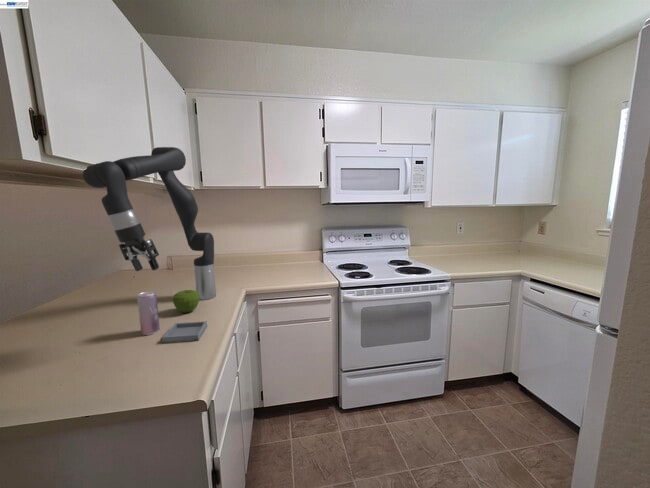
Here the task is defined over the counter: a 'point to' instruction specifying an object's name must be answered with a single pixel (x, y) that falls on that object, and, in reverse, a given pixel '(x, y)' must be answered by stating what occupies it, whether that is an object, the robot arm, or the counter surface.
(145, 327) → the beverage can
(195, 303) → the apple
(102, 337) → the counter surface
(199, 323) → the tray
